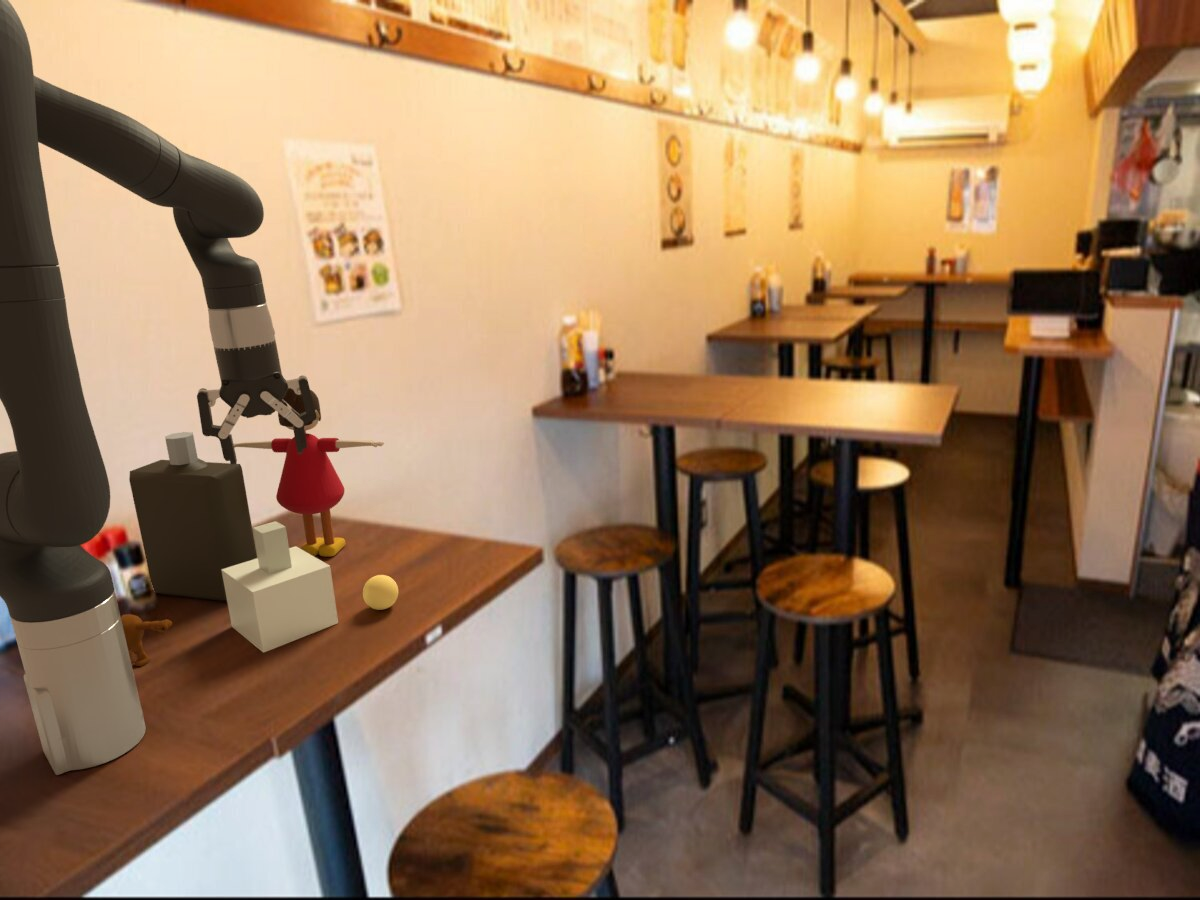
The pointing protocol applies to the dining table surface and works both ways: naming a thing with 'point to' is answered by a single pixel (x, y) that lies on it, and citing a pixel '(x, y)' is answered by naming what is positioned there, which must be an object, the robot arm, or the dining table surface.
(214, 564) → the bottle
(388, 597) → the ball
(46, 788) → the dining table surface
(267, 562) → the cover
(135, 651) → the toy figurine
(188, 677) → the dining table surface
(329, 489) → the toy
